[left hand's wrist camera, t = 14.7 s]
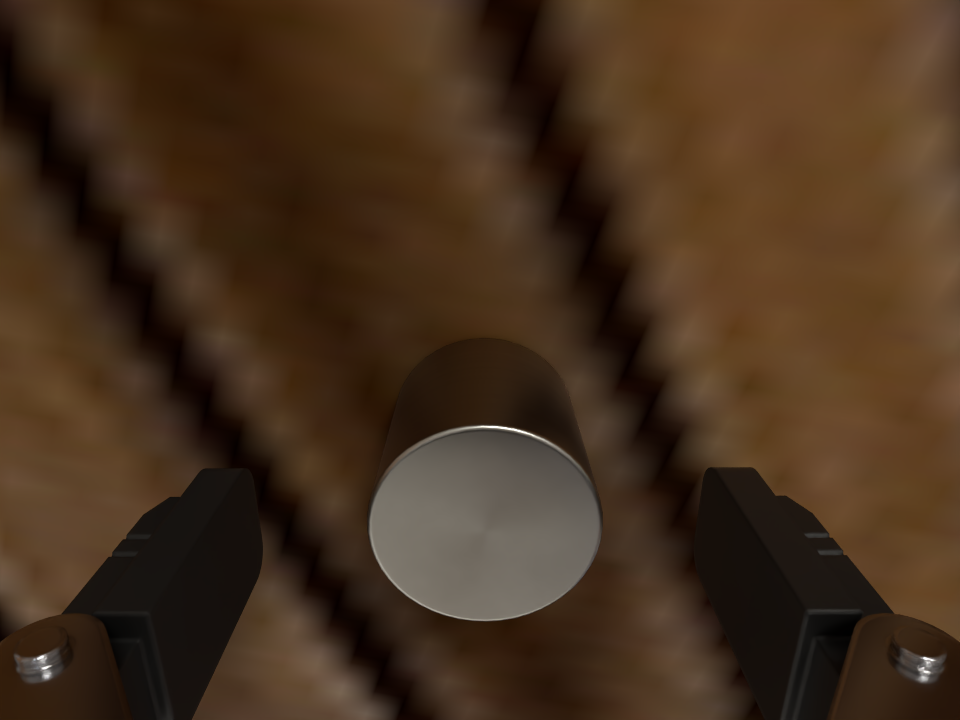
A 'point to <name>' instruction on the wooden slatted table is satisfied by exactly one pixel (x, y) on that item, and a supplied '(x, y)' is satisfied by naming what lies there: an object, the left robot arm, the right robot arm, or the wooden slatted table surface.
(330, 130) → the wooden slatted table surface
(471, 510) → the can
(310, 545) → the wooden slatted table surface
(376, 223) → the wooden slatted table surface
